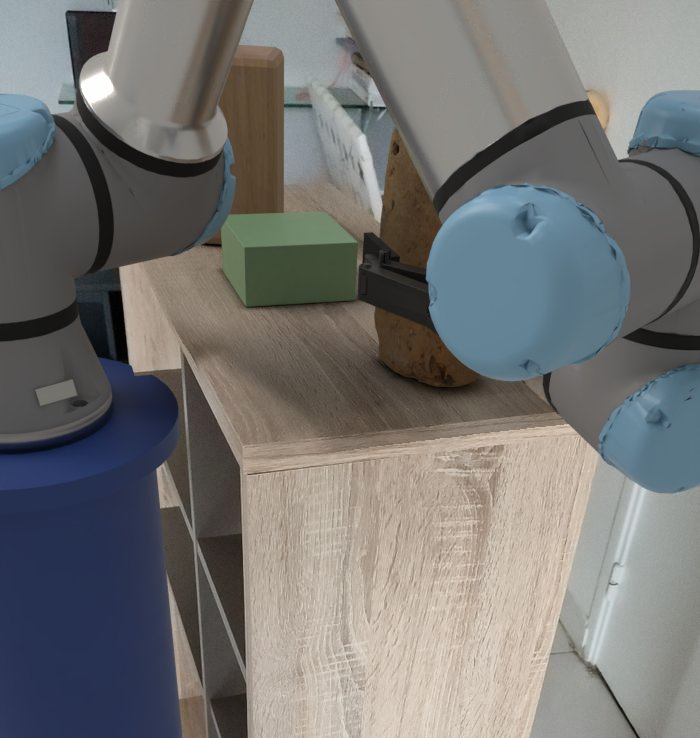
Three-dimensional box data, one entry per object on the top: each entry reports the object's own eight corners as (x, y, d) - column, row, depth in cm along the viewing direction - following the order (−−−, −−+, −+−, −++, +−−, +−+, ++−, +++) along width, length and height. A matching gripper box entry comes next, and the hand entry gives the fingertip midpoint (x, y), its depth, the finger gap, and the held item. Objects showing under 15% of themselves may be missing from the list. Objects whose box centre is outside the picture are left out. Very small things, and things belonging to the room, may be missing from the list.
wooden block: (194, 245, 109) (183, 51, 96) (207, 223, 116) (199, 41, 104) (276, 250, 109) (276, 57, 96) (284, 227, 116) (284, 46, 104)
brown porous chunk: (363, 355, 84) (378, 114, 72) (428, 343, 87) (453, 110, 75) (431, 400, 77) (460, 141, 65) (498, 384, 80) (538, 135, 68)
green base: (245, 307, 93) (244, 247, 89) (222, 270, 102) (220, 214, 98) (355, 300, 96) (358, 242, 92) (323, 265, 105) (325, 211, 101)
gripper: (384, 408, 59) (300, 299, 75) (704, 378, 66) (565, 283, 81) (393, 293, 54) (301, 202, 70) (737, 273, 61) (583, 194, 77)
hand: (443, 246), depth 76 cm, fingers open, 13 cm apart
